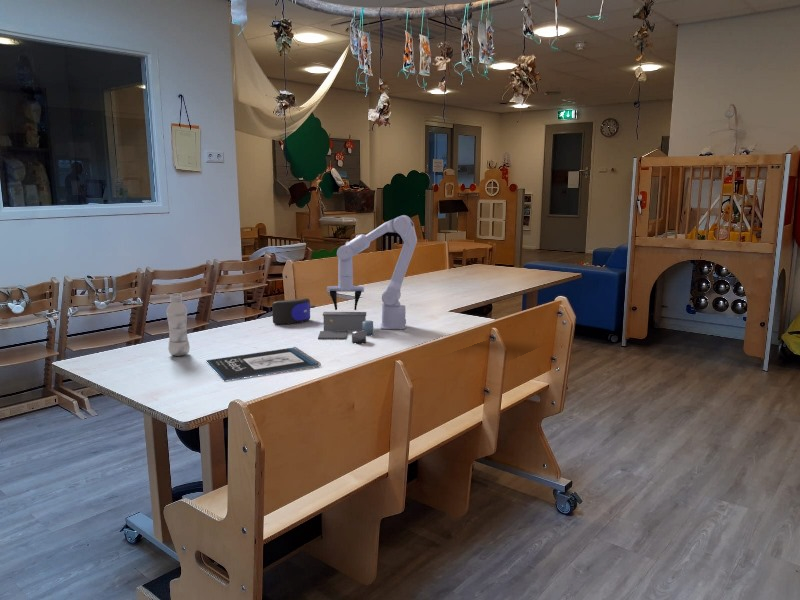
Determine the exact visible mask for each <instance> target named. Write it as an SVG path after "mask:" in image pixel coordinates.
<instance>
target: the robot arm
mask: <svg viewBox="0 0 800 600" xmlns="http://www.w3.org/2000/svg"><path fill="white" fill-rule="evenodd" d="M394 232H396V234H398V235H399V236H400V237H401V239H402V241H403V245H402V248H401V250H400V253H399V257H398V259H397V262H396V263H395V264H396V265H395V266H394V270H393V273H392V276H391V278H390V280H389V281H390V282H389V283H388V284H387V285H388V286H387V288H386V289H385V290H384V292H383V293H382V294H381V302H382V304H381V323H380V329H381V330H406V324H407V319H406V305H404V304H401V303H400V301H399V300H400V299H401V290H402V289H401V288H402V286H403V285H402V284H403V282H404V280H405V276H406V273H407V271H408V268H409V265H410V262H411V260H412V257H413V254H414V252H415V248H416V245H417V243H418V237H417V233H416V229H415V223H414V221H413V220H412V219H411V218H410V217H409V216H408V215H405V214H403V215H400V216H397V217H395V218H393V219H390V220H388V221H385V222H384V223H382V224H381V225H379V226H378V227H376V228H375V229H373V230H371V231H370V232H369V233H367V234H363V233H361V234H356V235H355V238H352V239H351V240H350V241H346V242H345V244H344V245H341V246H340V247H338V249H337V251H336V256H337V258H338V262H337V263H338V264H337V270H338V272H337V273H338V274H337V275H338V276H337V278H338V281H337V282H338V284H337V285H329V286H327V287H326V292H327V293H329V295H330V298H331V300H332V303H333V306H334V310H335V311H337V310H338V299H337V297H338V295H337V293H338V292H341V293H342V292H343V293H344V292H346V293H350V292H354V306H353V307H354V311H357V306H358V302H359V300H360V297H361V296H362V293H365V286H360V285H354V267H353V266H354V265H353V257H354V256H356V255H358V254H360V253H361V252H363V251H364V250H366V249H367V248H368V249H369V248H370V244H371V242H373V241H374V240H376V239H378V238H379V237H381V236H383V235H385V234H386V233H394Z"/></svg>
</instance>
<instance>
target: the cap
mask: <svg viewBox="0 0 800 600" xmlns="http://www.w3.org/2000/svg"><path fill="white" fill-rule="evenodd" d="M351 343H352V344H354V343H356V344H355V345H363V344H362V343H364V344H366V343H367V336H366V331H365V330H354V331H351Z"/></svg>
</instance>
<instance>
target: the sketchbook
mask: <svg viewBox="0 0 800 600" xmlns="http://www.w3.org/2000/svg"><path fill="white" fill-rule="evenodd" d="M206 361H207V362H208V363H209V364H208V363H207V362H206V363H207V364H208V366H209V365H210V366H211V367H212V368H213V369H214V370H215V371H216V372H217V373H218V374H219V375H218V374H217V373H216V372H215V371H214V370H213V369H212V368H211V367H210V368H211V369H212V370H213V371H214V372H215V373H216V374H217V375H218V376H219V377H220V379H222V380H224V381H223V382H227V381H226V380H231V381H233V380H232V379H237V380H239V379H238V378H244V377H250V376H257V377H259V376H258V375H263V376H267V375H266V374H270V375H275V374H274V373H276V374H281V372H283V373H288V372H287V371H289V372H294V371H293V370H296V371H301V370H300V369H302V370H307V369H306V368H309V369H314V368H313V367H315V368H319V367H320V366H322V365H321V364H322V363H321V362H320V361H319V360H317V359H315V358H314V357H312V356H311V355H309V353H306V352H304V351H303V350H302V349H299V347H296V346H293V347H287V348H282V349H281V348H280V349H274V350H266V351H259V352H254V353H247V354H241V355H240V354H239V355H233V356H226V357H220V358H213V359H206ZM319 365H320V366H319ZM250 378H251V377H250ZM244 379H245V378H244Z"/></svg>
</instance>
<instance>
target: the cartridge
mask: <svg viewBox="0 0 800 600" xmlns="http://www.w3.org/2000/svg"><path fill="white" fill-rule="evenodd" d="M363 330H365V331H366V337H371V335H372V336H374V321H372V320H366V321H363Z"/></svg>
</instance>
